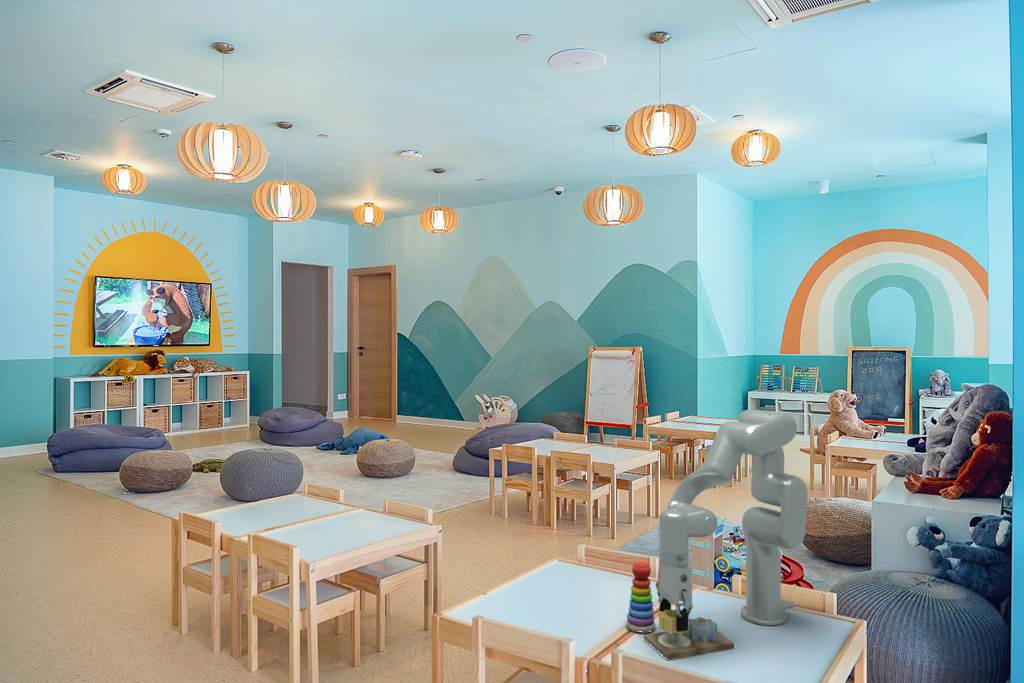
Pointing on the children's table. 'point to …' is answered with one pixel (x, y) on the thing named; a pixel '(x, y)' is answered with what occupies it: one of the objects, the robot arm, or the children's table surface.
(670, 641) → the gear board
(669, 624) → the ochre gear
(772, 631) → the children's table surface
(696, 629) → the slate gear
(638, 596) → the stacking toy
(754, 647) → the children's table surface
